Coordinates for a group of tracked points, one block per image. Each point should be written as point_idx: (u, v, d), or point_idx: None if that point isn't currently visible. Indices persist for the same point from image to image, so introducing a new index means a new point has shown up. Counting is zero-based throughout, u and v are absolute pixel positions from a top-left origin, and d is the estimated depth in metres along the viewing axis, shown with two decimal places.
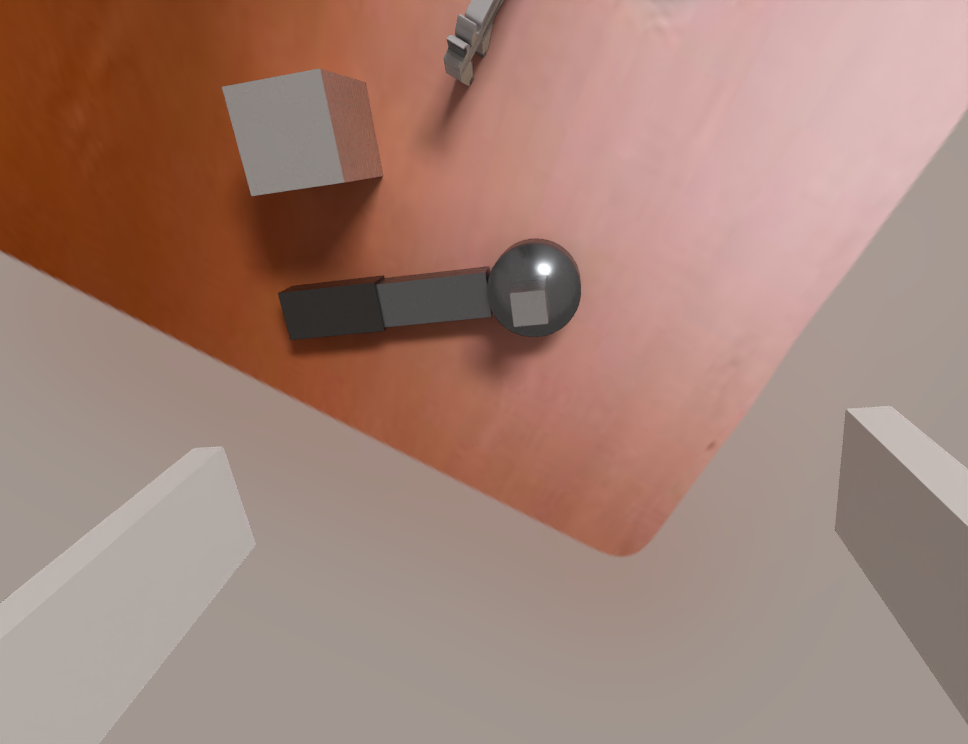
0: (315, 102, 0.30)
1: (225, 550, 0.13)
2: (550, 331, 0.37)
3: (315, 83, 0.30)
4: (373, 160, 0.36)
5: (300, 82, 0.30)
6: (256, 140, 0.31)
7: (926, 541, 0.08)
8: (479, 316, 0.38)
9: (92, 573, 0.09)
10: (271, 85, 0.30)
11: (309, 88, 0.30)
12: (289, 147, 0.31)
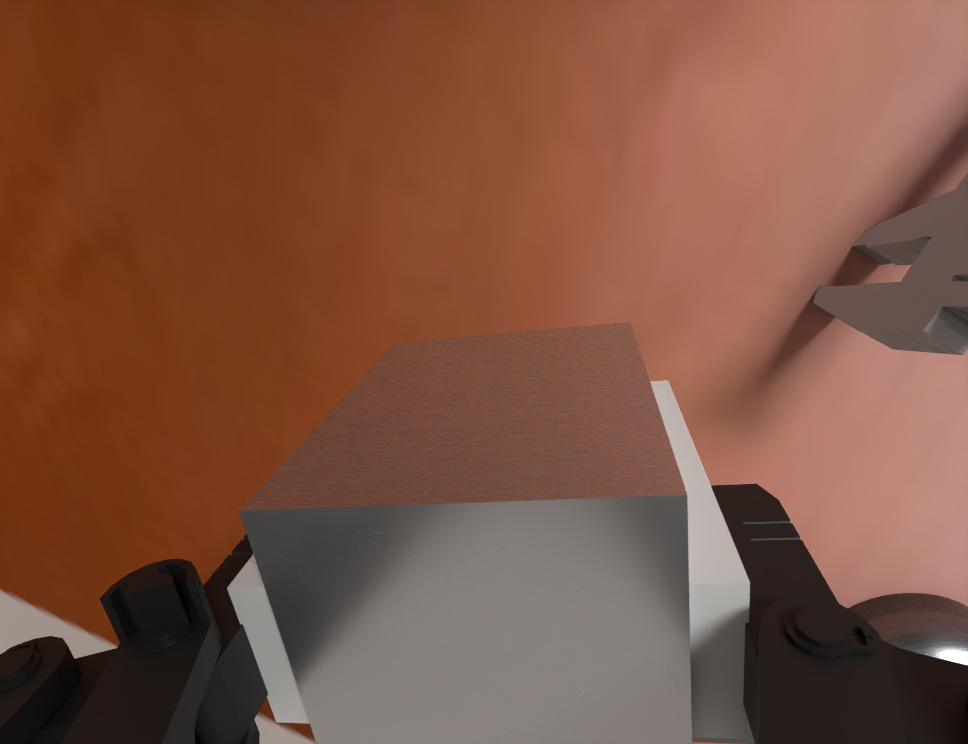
0: (635, 601, 0.07)
1: None
2: None
3: (651, 542, 0.07)
4: None
5: (582, 532, 0.07)
6: (368, 673, 0.08)
7: None
8: None
9: None
10: (449, 528, 0.07)
11: (619, 555, 0.07)
12: (493, 710, 0.08)
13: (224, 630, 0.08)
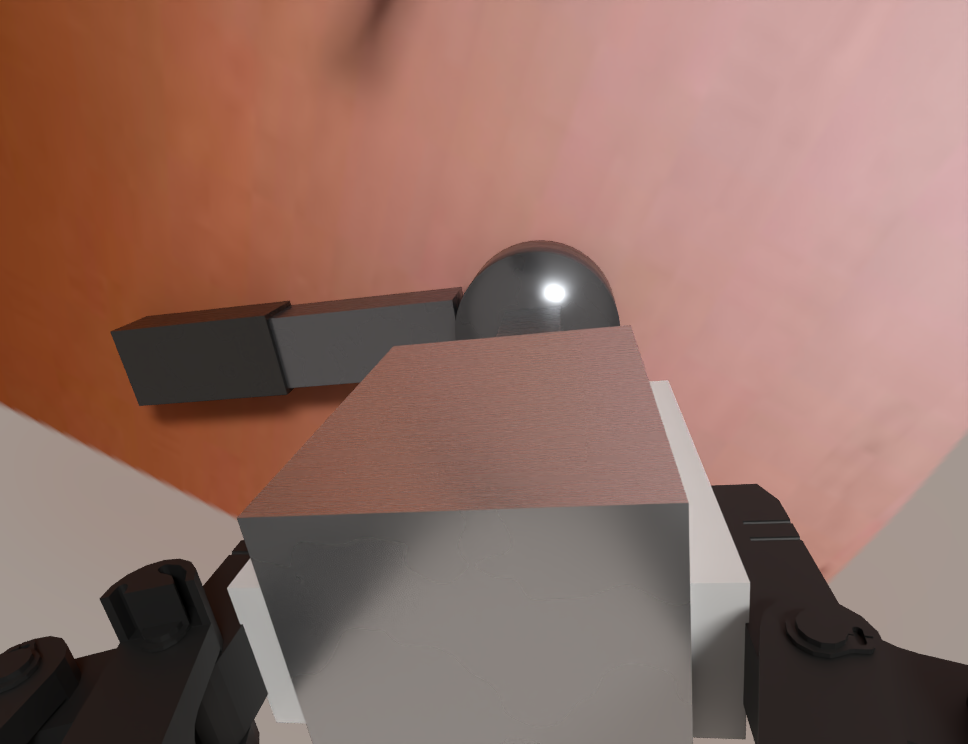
0: (636, 609, 0.07)
1: None
2: None
3: (652, 550, 0.07)
4: None
5: (582, 539, 0.07)
6: (366, 681, 0.08)
7: None
8: None
9: None
10: (448, 535, 0.07)
11: (620, 562, 0.07)
12: (493, 718, 0.08)
13: (224, 630, 0.08)
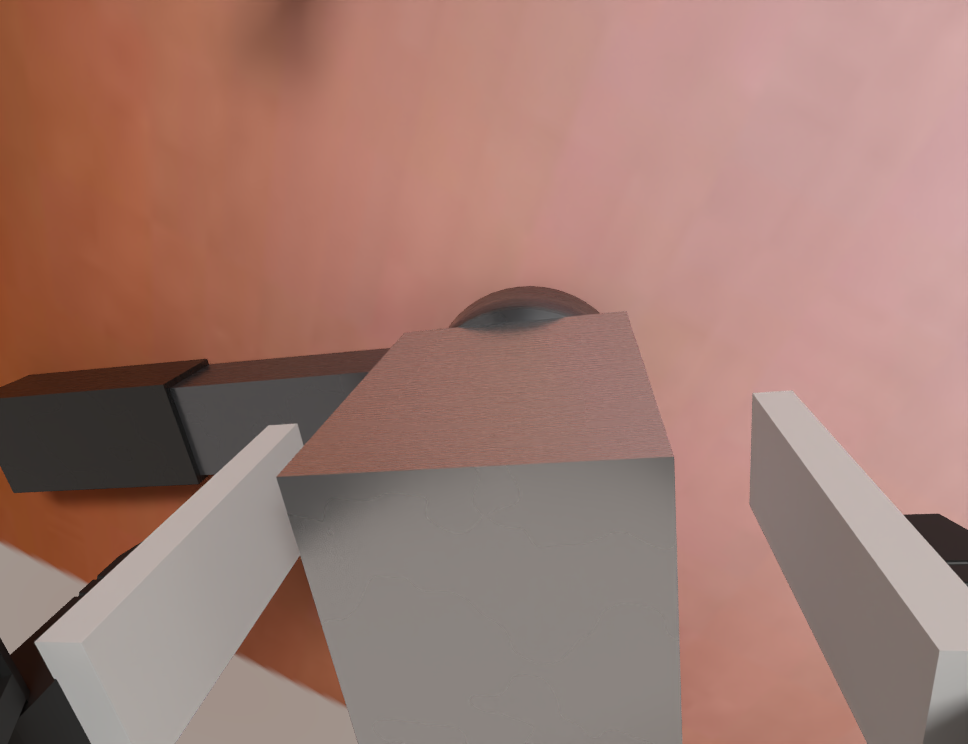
0: (629, 553, 0.08)
1: None
2: None
3: (642, 499, 0.08)
4: None
5: (581, 491, 0.08)
6: (389, 624, 0.09)
7: (800, 505, 0.09)
8: None
9: (201, 534, 0.10)
10: (464, 489, 0.08)
11: (614, 511, 0.08)
12: (502, 656, 0.09)
13: (35, 686, 0.08)
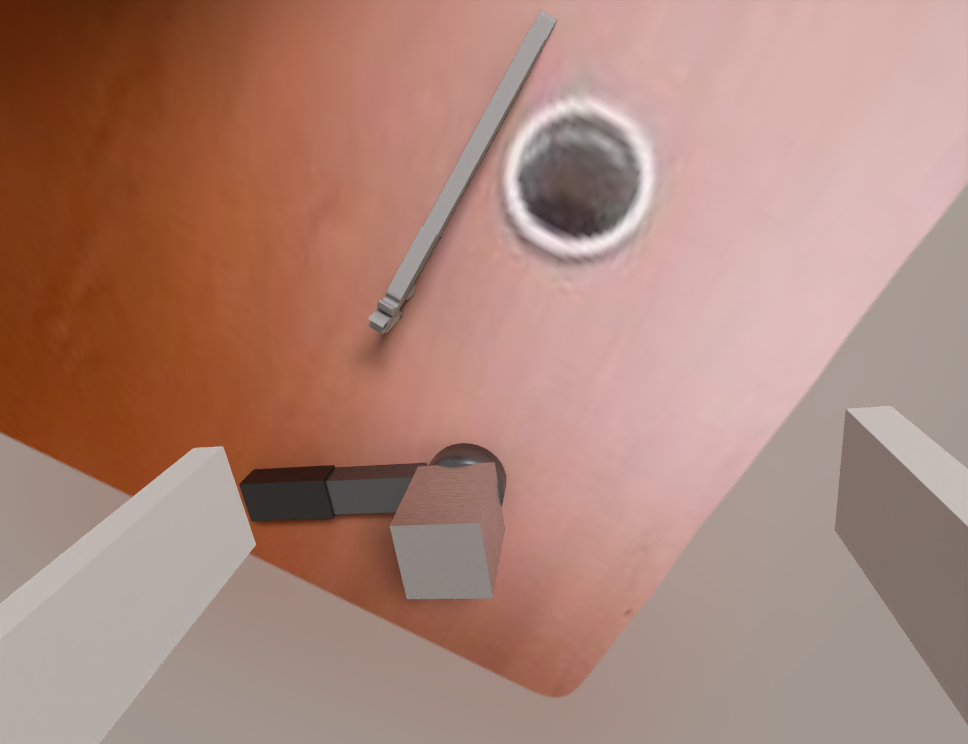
0: (473, 544, 0.34)
1: (225, 550, 0.13)
2: None
3: (474, 532, 0.34)
4: (501, 529, 0.40)
5: (461, 530, 0.34)
6: (416, 563, 0.35)
7: (925, 540, 0.08)
8: None
9: (92, 573, 0.09)
10: (434, 529, 0.34)
11: (468, 534, 0.34)
12: (445, 571, 0.35)
13: None
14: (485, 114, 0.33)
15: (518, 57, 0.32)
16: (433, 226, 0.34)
